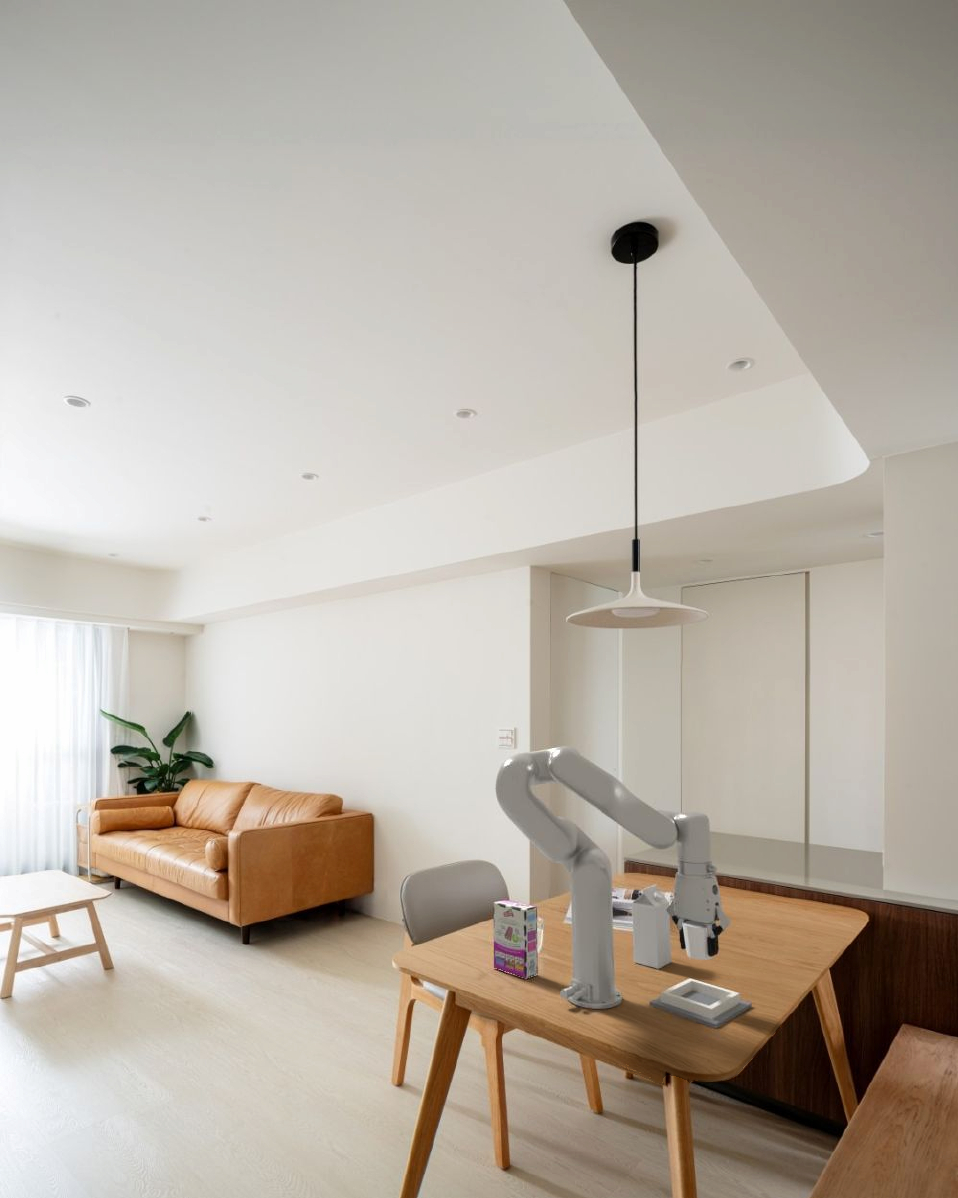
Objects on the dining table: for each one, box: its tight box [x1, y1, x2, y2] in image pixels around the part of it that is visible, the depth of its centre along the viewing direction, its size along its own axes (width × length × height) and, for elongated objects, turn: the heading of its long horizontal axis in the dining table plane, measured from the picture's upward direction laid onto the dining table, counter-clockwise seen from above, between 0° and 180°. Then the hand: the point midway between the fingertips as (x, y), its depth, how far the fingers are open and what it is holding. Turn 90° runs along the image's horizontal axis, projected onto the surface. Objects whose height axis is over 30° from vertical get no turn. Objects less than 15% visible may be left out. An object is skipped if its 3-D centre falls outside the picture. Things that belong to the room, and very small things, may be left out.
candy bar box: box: [493, 899, 539, 979], centre depth 182 cm, size 11×5×16 cm, turn 46°
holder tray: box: [649, 978, 753, 1029], centre depth 160 cm, size 16×16×3 cm
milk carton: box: [631, 884, 672, 970], centre depth 189 cm, size 7×7×19 cm
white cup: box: [682, 920, 714, 961], centre depth 162 cm, size 7×7×7 cm
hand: (699, 950), depth 162 cm, fingers closed on white cup, 6 cm apart
